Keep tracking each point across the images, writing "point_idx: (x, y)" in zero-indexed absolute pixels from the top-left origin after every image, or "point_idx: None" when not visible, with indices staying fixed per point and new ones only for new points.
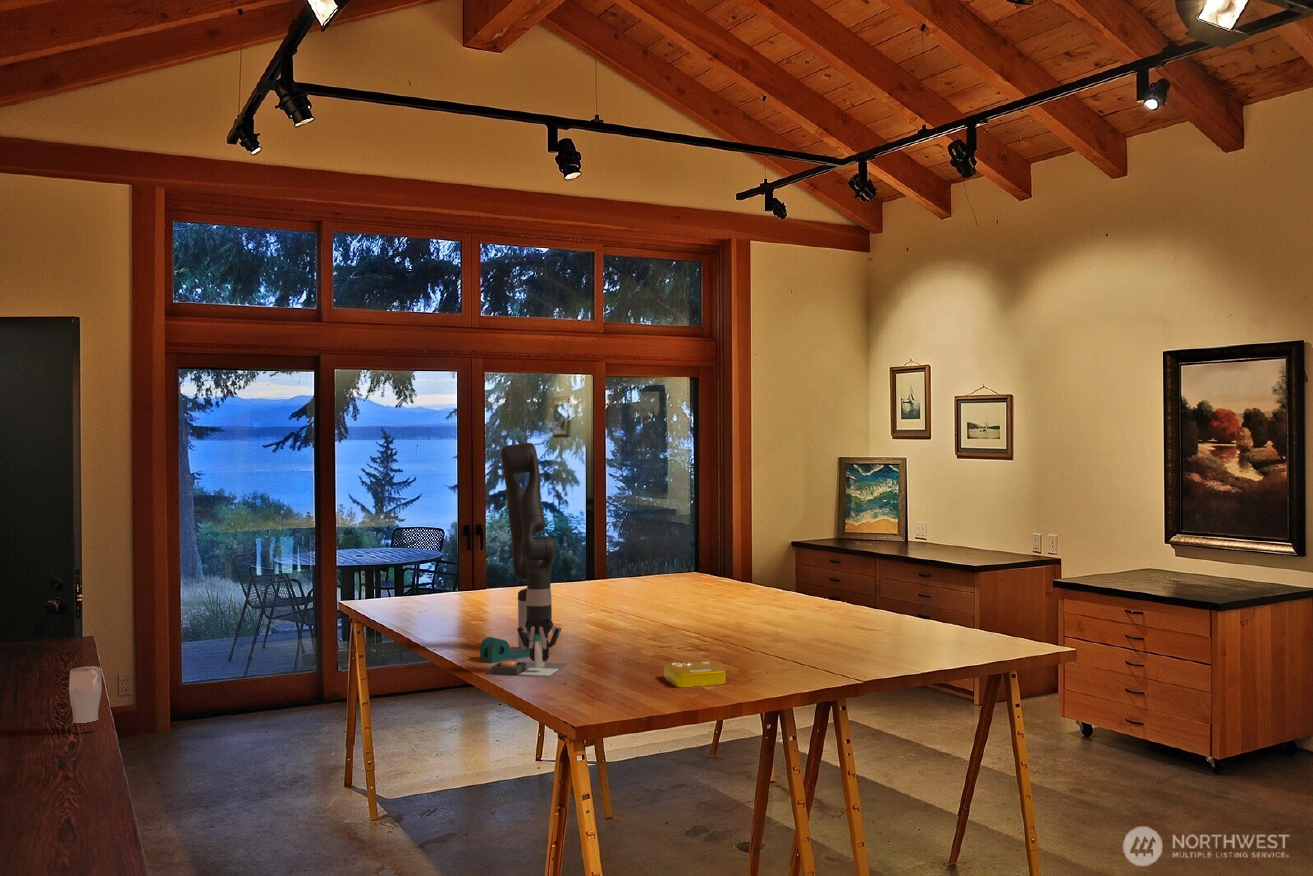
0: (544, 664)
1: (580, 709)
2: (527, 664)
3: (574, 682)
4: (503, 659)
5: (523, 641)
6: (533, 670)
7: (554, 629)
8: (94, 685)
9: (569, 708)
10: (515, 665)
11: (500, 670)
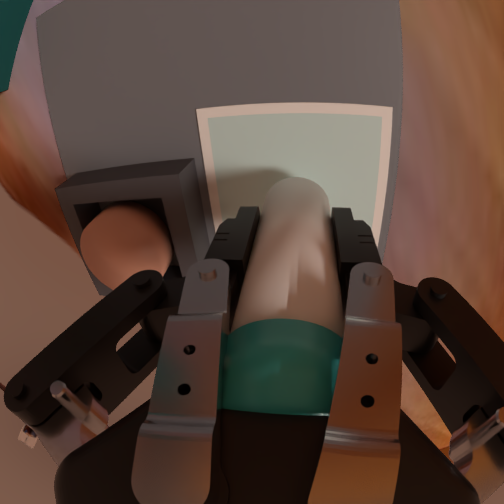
0: (329, 208)
1: (442, 429)
2: (133, 29)
3: (470, 296)
4: (7, 35)
5: (141, 354)
6: (250, 177)
7: (477, 471)
8: (35, 441)
9: (426, 431)
10: (168, 259)
11: None
